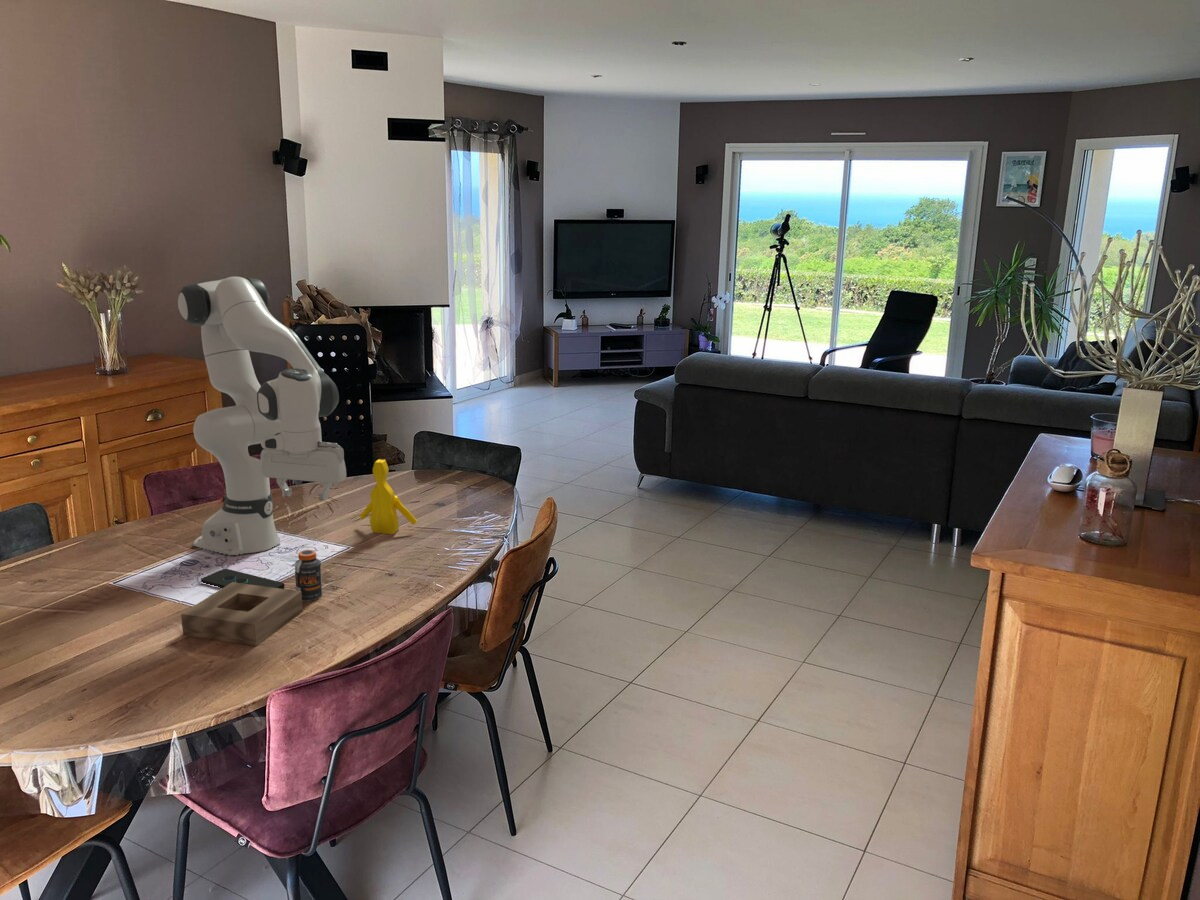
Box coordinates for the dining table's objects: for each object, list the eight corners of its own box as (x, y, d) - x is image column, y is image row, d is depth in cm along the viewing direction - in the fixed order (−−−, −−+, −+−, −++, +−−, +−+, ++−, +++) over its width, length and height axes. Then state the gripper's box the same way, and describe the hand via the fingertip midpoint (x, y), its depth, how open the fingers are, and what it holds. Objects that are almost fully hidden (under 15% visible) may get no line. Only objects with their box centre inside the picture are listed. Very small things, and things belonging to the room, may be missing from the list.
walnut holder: (183, 635, 199) (180, 613, 198) (234, 601, 216) (232, 582, 215) (256, 646, 195) (254, 624, 194) (302, 611, 212) (301, 591, 211)
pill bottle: (298, 603, 216) (296, 558, 213) (294, 593, 221) (291, 549, 218) (324, 598, 219) (322, 554, 216) (319, 589, 224) (317, 546, 221)
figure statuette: (420, 530, 266) (418, 457, 260) (409, 539, 259) (407, 464, 253) (363, 524, 269) (360, 452, 264) (351, 533, 262) (347, 459, 256)
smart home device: (225, 567, 233) (285, 582, 225) (225, 573, 233) (286, 588, 225) (198, 578, 226) (260, 594, 217) (199, 585, 226) (261, 601, 218)
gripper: (349, 440, 211) (352, 497, 215) (270, 434, 216) (274, 490, 219) (335, 446, 205) (339, 505, 209) (254, 440, 210) (259, 498, 213)
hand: (305, 497), depth 214 cm, fingers open, 8 cm apart
